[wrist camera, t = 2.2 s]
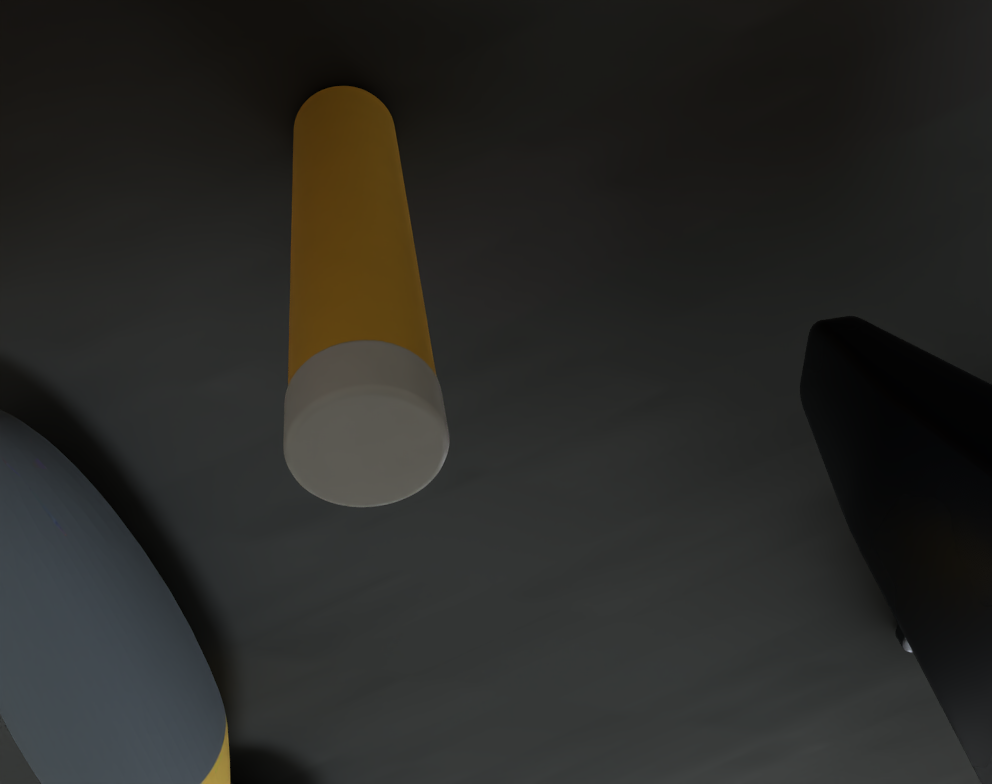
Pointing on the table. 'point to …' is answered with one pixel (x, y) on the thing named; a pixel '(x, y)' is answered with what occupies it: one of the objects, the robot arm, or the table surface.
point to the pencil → (357, 313)
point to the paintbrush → (94, 637)
